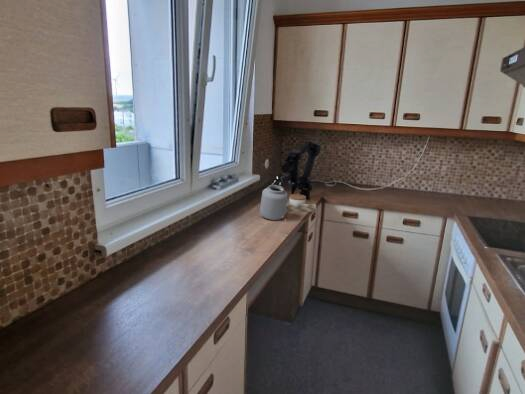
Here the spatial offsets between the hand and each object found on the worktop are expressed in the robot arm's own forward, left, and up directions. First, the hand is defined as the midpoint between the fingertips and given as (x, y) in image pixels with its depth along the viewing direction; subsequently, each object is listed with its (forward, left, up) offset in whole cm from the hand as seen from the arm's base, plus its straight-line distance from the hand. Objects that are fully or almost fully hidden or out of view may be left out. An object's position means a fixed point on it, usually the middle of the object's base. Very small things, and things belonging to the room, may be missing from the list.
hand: (292, 194), depth 238 cm
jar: (+19, +33, -6) cm, 39 cm away
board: (0, +20, -6) cm, 20 cm away
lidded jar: (0, +13, -6) cm, 14 cm away
